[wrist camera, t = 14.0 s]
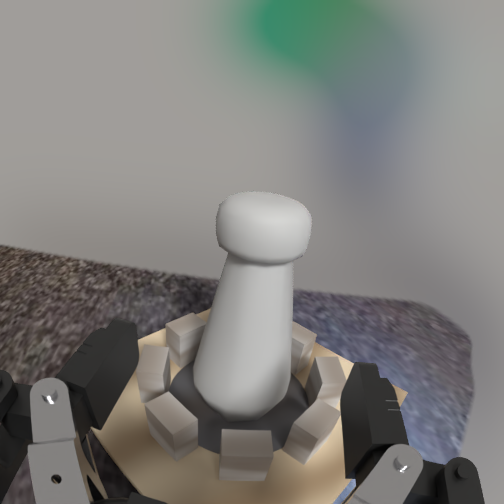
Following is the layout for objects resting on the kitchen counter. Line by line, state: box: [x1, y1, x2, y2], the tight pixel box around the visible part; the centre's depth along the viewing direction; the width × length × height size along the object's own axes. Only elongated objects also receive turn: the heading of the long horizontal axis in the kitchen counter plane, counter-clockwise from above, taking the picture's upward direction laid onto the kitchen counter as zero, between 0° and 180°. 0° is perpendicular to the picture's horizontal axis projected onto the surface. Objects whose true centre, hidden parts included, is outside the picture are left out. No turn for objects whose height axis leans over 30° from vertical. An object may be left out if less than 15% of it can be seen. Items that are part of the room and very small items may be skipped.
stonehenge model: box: [90, 308, 408, 504], centre depth 19 cm, size 18×18×4 cm
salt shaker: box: [193, 191, 312, 422], centre depth 17 cm, size 6×6×13 cm
